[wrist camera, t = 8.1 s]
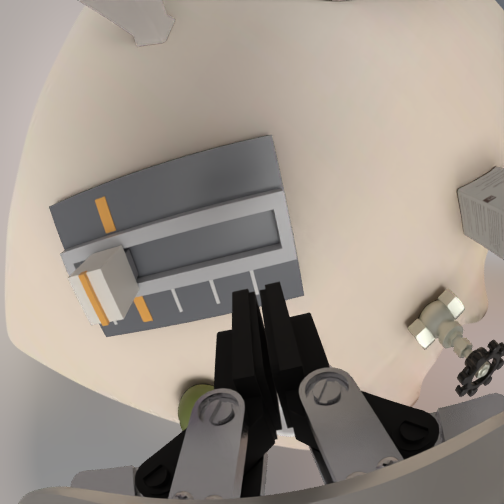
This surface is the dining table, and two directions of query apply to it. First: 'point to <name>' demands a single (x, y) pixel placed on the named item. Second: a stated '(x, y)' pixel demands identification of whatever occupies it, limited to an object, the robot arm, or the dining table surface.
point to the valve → (457, 341)
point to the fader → (106, 285)
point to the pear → (190, 402)
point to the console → (189, 233)
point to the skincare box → (484, 210)
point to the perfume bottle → (137, 18)
